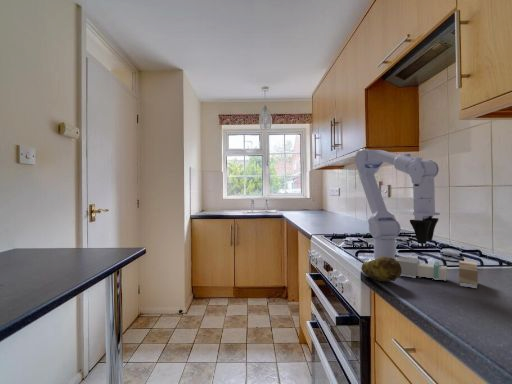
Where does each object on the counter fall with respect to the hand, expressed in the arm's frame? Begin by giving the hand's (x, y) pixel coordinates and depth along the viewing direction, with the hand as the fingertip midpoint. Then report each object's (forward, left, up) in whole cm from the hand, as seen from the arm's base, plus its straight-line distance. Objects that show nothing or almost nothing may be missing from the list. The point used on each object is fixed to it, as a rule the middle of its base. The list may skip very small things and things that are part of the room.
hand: (425, 241), depth 86 cm
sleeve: (+2, -4, -11) cm, 12 cm away
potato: (+14, -10, -11) cm, 20 cm away
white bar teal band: (+2, 0, -11) cm, 11 cm away
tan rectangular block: (+2, +11, -11) cm, 15 cm away
